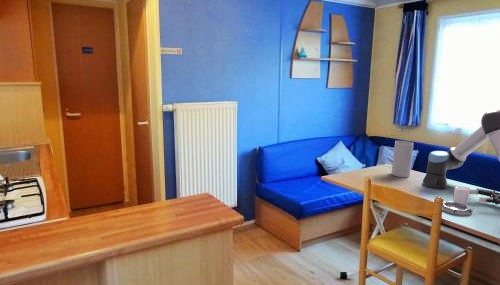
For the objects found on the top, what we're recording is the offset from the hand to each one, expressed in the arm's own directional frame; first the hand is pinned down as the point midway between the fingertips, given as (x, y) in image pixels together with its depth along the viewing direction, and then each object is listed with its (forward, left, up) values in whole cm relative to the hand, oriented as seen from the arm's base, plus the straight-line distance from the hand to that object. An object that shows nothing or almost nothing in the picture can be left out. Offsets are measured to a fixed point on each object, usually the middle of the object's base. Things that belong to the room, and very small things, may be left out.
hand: (472, 195), depth 209 cm
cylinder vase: (-57, +21, -6) cm, 61 cm away
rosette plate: (-1, -17, -6) cm, 18 cm away
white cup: (-4, -4, -6) cm, 9 cm away
